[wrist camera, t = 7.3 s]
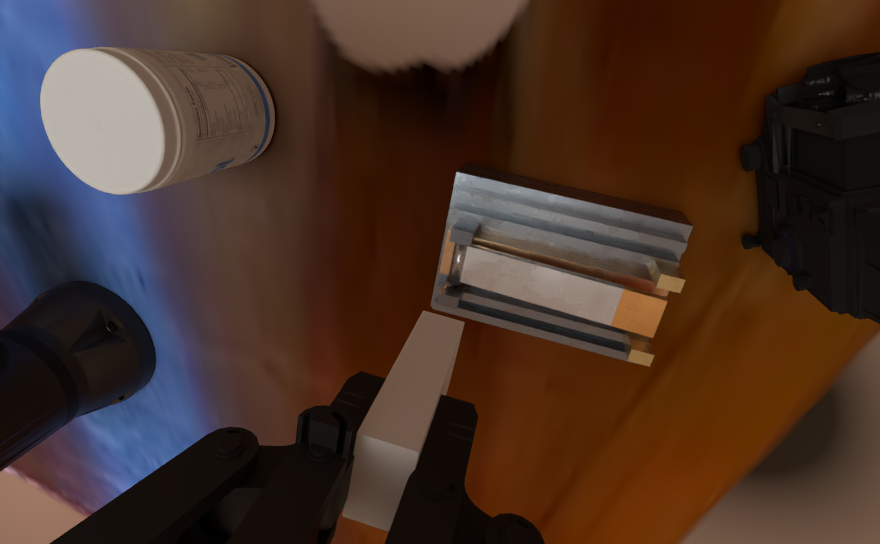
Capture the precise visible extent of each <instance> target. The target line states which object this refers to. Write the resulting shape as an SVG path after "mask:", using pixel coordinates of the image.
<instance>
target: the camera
mask: <svg viewBox="0 0 880 544" xmlns="http://www.w3.org/2000/svg"><path fill="white" fill-rule="evenodd" d="M806 70H807V73H808V74H807V75H806V76H805V77H803V78H802V81H803V82H802V83H798V84H793V85H789V86H784V87H780V88H778V89H776V90H777V94H774V95H773V94H772V95H771V96H769V95H766V117H767V123H766V125H765V126H764V128H763V129H764V139H765V140H762V137H761V135H760V136H759V137H758V139H757V140H756V141H755V144H753V145H746V146H743V147H742V148H741V161H742V166H743V169H744V170H745V171H746V172H748V171H752V170H756V171H757V186H758V201H759V216H760V227H759V230H758V233H757V235H758V236H752V234H751V235H747V236H744V237H743V238H742V244H743V247H744V249H751V248H752V247H759V246H762V249H763V250H764V251H765V252H766V253H767V254H768V255H769V256H770V257H771V258H773V259H774V261H775V263H776V265H777V266H779V267H782V268H784V269H785V270H786V271H787V273H788V275H791V276H792V277H793V285H794V287H795V289H796V291H801V290H805V289H807V290H808V291H809V292H810V293H811V294H812V295H813V296H815V297H816V298H817V299H818V300H819V301H820V302H821V303H822V304H823V305H824V306H826V307H827V308H828V309H829V310H830V311H831V312H838V313H839V314H845V313H849V314H850V315H852V316H853V317H854V318H855V319H856V318H858V319H866V318H869V319H871V320H873V321H875V322H877V323H879V324H880V52H877V53H870V54H863V55H856V56H851V57H847V58H842V59H838V60H833V61H829V62H824V63H821V64H818V65H814V66H811V67H808V68H806Z"/></svg>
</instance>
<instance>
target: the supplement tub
mask: <svg viewBox="0 0 880 544" xmlns="http://www.w3.org/2000/svg"><path fill="white" fill-rule="evenodd" d="M40 104H41V114H42V120H43V123H44V127H45V130H46V133H47V135H48V138H49V140H50V142H51V144H52V146H53V148H54V150H55V151H56V153H57V155H58V156H59V158H60V159H61V160H62V161H63V163H64V164H65V165H66V166H67V167H68V168H69V170H70V171H71V172H72V173H74V174H75V175H76V176H77V177H78V178H79V179H81V180H82V181H83V182H85V183H86V184H88V185H90V186H91V187H93V188H95V189H98V190H100V191H103V192H106V193H110V194H117V195H125V194H132V193H141V192H146V191H150V190H154V189H158V188H161V187H165V186H168V185H172V184H175V183H179V182H182V181H186V180H189V179H192V178H196V177H199V176H203V175H207V174H210V173H213V172H217V171H220V170H224V169H227V168H231V167H234V166H238V165H241V164H244V163H247V162H250V161H252V160H253V159H255V158H256V157H258V156H259V155H260V154H261V153H262V152H263V151H264V150H265V149H266V147H267V146H268V144H269V142H270V140H271V138H272V135H273V131H274V125H275V112H274V105H273V101H272V98H271V95H270V93H269V91H268V89H267V87H266V85H265V83H264V82H263V80H262V79H261V78H260V76H259V75H258V74H257V73H256V72H255V71H254V70H253V69H252V68H251V67H249V66H248V65H247V64H246V63H244V62H242V61H240V60H238V59H236V58H234V57H231V56H227V55H222V54H211V53H195V52H181V51H164V50H147V49H132V48H113V47H96V48H90V49H76V50H72V51H70V52H67V53H65V54H63V55H61V56H60V57H59V58H58V59H56V60H55V61H54V62H53V63H52V65H51V66H50V68H49V69H48V71H47V73H46V75H45V77H44V80H43V84H42V88H41V96H40Z"/></svg>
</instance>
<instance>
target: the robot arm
mask: <svg viewBox="0 0 880 544" xmlns="http://www.w3.org/2000/svg"><path fill="white" fill-rule="evenodd" d="M464 323H465V322H462V321H459V320H455V319H452V318H448V317H445V316H441V315H437V314H434V313H430V312H427V311H423V312H422V314H421V316H420V317H419V319H418V321H417V323H416V325H415V327H414V329H413V330H412V332H411V334H410V336H409V338H408V340H407V341H406V343H405V345H404V347H403V349H402V351H401V352H400V354H399V356H398V358H397V360H396V362H395V364H394V365H393V367H392V369H391V371H390V373H389V375H388V376H387V378H386V379H385V378H381V377H378V376H375V375H371V374H368V373H365V372H361V371H360V372H359V373H357V374H355V375H353V376H352V377H350V378H348V379H347V381H346V382H345V384H344V385H343V387H342V388H341V390H340V392H339V393H338V394H337V396H336V397H335V400H333V402H332V403H331V405H330V406H326V405H323V406H314V407H312V408H309V409H306V410H305V411H304V412H302V413H301V414H300V415H299V416H298V425H297V434H296V443H295V444H292V445H288V446H262V445H259V443H258V440H257V437H256V436H255V435H254V434H253V433H252V432H251V431H249V430H246V429H243V428H239V427H227V428H222V429H218V430H216V431H214V432H211V433H209V434H208V435H206V436H205V437H203V438H202V439H200V440H199V441H197V442H196V443H195V444H193V445H192V446H190V447H189V448H187V449H186V450H184V451H183V452H182V453H180V454H179V455H177V456H176V457H174V458H173V459H171V460H170V461H168V462H167V463H166V464H164V465H163V466H161V467H160V468H158V469H157V470H155V471H154V472H153V473H151V474H150V475H148V476H147V477H145V478H144V479H142V480H141V481H140V482H138V483H137V484H135V485H134V486H132V487H131V488H129V489H128V490H127V491H125V492H124V493H122V494H121V495H119V496H118V497H116V498H115V499H113V500H112V501H111V502H109V503H108V504H106V505H105V506H103V507H102V508H100V509H99V510H98V511H96V512H95V513H93V514H92V515H90V516H89V517H87V518H86V519H85V520H83V521H82V522H80V523H79V524H77V525H76V526H75V527H73V528H72V529H70V530H69V531H67V532H66V533H64V534H63V535H61V536H60V537H59V538H57V539H56V540H54V541H53V542H51V543H50V544H330V543H331V541H332V539H333V537H334V534H335V529H336V524H337V519H338V517H339V515H340V513H341V511H342V509H343V506H344V510H343V517H346V518H349V519H352V520H355V521H358V522H361V523H364V524H367V525H370V526H373V527H376V528H379V529H382V530H385V531H388V532H389V533H388V536H387V539H386V541H385V544H545V543H544V540H543V538H542V536H541V534H540V532H539V531H538V529H537V528H536V527H535V526H534V525H533V524H532V523H531V522H529V521H528V520H526V519H525V518H523V517H521V516H518V515H514V514H511V513H508V514H499V515H497V516H495V517H493V518H492V517H490V516H489V515H487V514H486V513H484V512H483V511H481V510H480V509H479V508H478V507H476V506H475V505H474V504H473V502H472V501H471V500H470V499H469V497H468V495H467V493H466V490H465V486H464V482H465V475H466V470H467V466H468V461H469V456H470V452H471V447H472V443H473V438H474V433H475V429H476V424H477V420H478V415H477V412H476V409H475V406H474V404H472V403H469V402H465V401H462V400H459V399H455V398H452V397H449V396H445V395H446V392H447V389H448V386H449V382H450V379H451V375H452V371H453V367H454V363H455V359H456V355H457V351H458V347H459V343H460V339H461V335H462V331H463V327H464ZM154 365H155V356H154V349H153V345H152V342H151V339H150V336H149V334H148V332H147V330H146V328H145V326H144V325H143V323H142V322H141V320H140V319H139V317H138V316H137V315H136V313H135V312H134V311H133V310H132V309H131V308H130V307H129V306H128V305H127V304H126V303H125V302H124V301H123V300H121V299H120V298H119V297H118V296H116V295H115V294H113V293H112V292H110V291H108V290H106V289H105V288H102V287H100V286H98V285H95V284H92V283H88V282H80V281H74V282H67V283H64V284H61V285H59V286H57V287H54V288H52V289H50V290H47V291H45V292H44V293H42V294H41V295H39V296H38V297H37V298H36V299H35V300H34V301H33V302H32V303H31V304H30V306H29V307H28V308H27V309H25V310H24V311H23V312H22V313H21V314H19V315H18V316H17V317H16V318H15V319H14V320H12V321H11V322H10V323H9V324H8V325H7V326H5V327H4V328H3V329H1V330H0V471H2V470H3V469H5V468H6V467H8V466H9V465H10V464H12V463H13V462H14V461H16V460H17V459H19V458H20V457H21V456H23V455H24V454H26V453H27V452H28V451H30V450H31V449H32V448H34V447H35V446H37V445H38V444H39V443H41V442H42V441H44V440H45V439H46V438H48V437H49V436H50V435H52V434H53V433H55V432H56V431H57V430H59V429H60V428H61V427H63V426H64V425H66V424H67V423H68V422H70V421H71V420H73V419H74V418H76V417H79V416H82V415H85V414H87V413H90V412H93V411H96V410H99V409H102V408H104V407H107V406H109V405H112V404H116V403H119V402H122V401H124V400H126V399H128V398H129V397H131V396H132V395H134V394H135V393H136V392H138V391H139V390H140V389H142V388H143V387H144V386H145V385H146V384H147V383H148V382H149V380H150V378H151V376H152V374H153V371H154ZM344 504H345V505H344Z"/></svg>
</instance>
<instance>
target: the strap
mask: <svg viewBox="0 0 880 544" xmlns="http://www.w3.org/2000/svg"><path fill="white" fill-rule="evenodd" d="M447 281H448V283H450V284H452V285H462V283H465V284H469V285H472V286H475V287H479V288H482V289H486V290H489V291H493V292H496V293H500V294H503V295H506V296H510V297H513V298H517V299H520V300H524V301H527V302H530V303H534V304H537V305H541V306H544V307H548V308H551V309H555V310H558V311H561V312H565V313H568V314H572V315H575V316H579V317H582V318H586V319H589V320H592V321H596V322H599V323H603V324H606V325H610V326H613V327H617V328H620V329H623V330H627V331H630V332H634V333H637V334H641V335H644V336H647V337H651V338H653V336H654V334H655V332H656V329H657V327H658V324H659V322H660V319H661V317H662V314H663V312H664V309H665V307H666V304H667V302H668V301H667V297H665V296H661V295H658V294H654V293H650V292H647V291H643V290H639V289H636V288H632V287H628V286H625V285H621V284H618V283H614V282H610V281H607V280H603V279H599V278H596V277H592V276H588V275H585V274H581V273H577V272H574V271H570V270H566V269H563V268H559V267H555V266H552V265H548V264H544V263H541V262H537V261H534V260H530V259H526V258H523V257H519V256H515V255H512V254H508V253H504V252H501V251H497V250H493V249H490V248H486V247H482V246H479V245H475V244H472V245H471V247H470V246H466V245H462V244H458V243H455V246H454V251H453V256H452V261H451V265H450V270H449V275H448V280H447Z"/></svg>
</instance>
